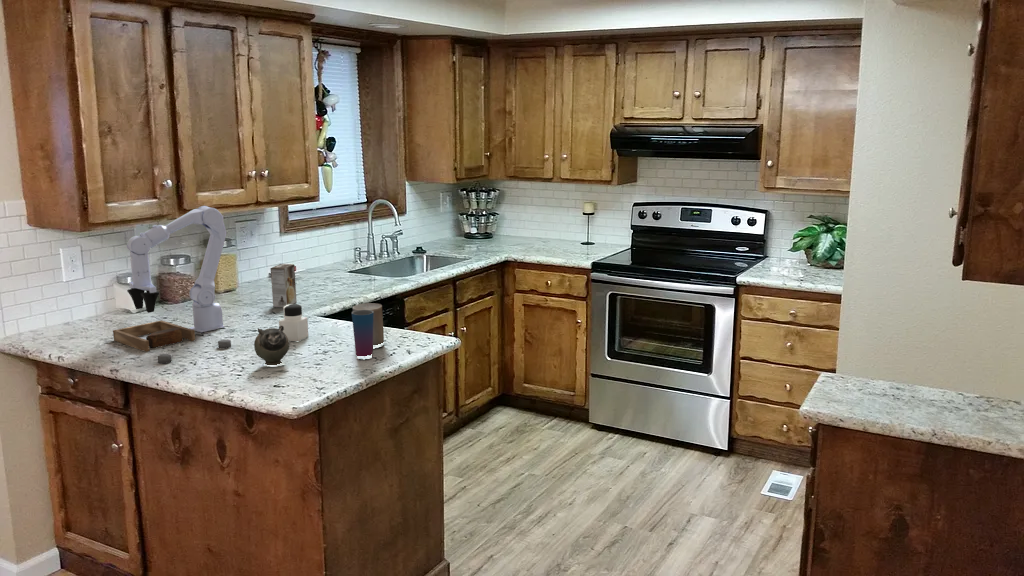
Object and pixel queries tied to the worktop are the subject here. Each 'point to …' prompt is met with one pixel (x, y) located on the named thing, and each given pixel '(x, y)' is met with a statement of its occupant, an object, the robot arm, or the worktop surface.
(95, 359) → the worktop surface
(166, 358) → the puck left
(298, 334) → the medicine bottle
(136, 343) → the wooden frame
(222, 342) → the puck right
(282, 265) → the coffee box
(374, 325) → the pillar candle
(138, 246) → the robot arm
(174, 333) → the brick
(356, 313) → the cup
